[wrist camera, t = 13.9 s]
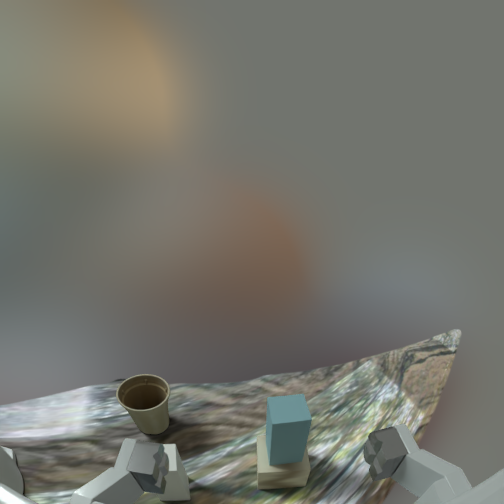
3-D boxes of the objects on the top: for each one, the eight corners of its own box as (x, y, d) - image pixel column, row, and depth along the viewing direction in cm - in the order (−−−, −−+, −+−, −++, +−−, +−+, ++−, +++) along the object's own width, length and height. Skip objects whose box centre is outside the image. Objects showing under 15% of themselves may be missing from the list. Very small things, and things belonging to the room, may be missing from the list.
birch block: (258, 489, 31) (258, 472, 29) (256, 455, 38) (256, 435, 36) (305, 486, 31) (310, 468, 30) (299, 452, 38) (303, 432, 36)
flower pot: (186, 413, 47) (178, 380, 44) (166, 448, 38) (154, 417, 36) (143, 401, 49) (133, 369, 46) (120, 432, 40) (106, 400, 38)
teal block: (269, 465, 31) (272, 424, 28) (265, 441, 35) (267, 397, 32) (302, 461, 31) (311, 419, 28) (296, 438, 35) (303, 393, 32)
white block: (160, 500, 28) (140, 470, 25) (159, 477, 32) (142, 444, 29) (190, 500, 29) (176, 470, 26) (188, 477, 33) (175, 443, 30)
